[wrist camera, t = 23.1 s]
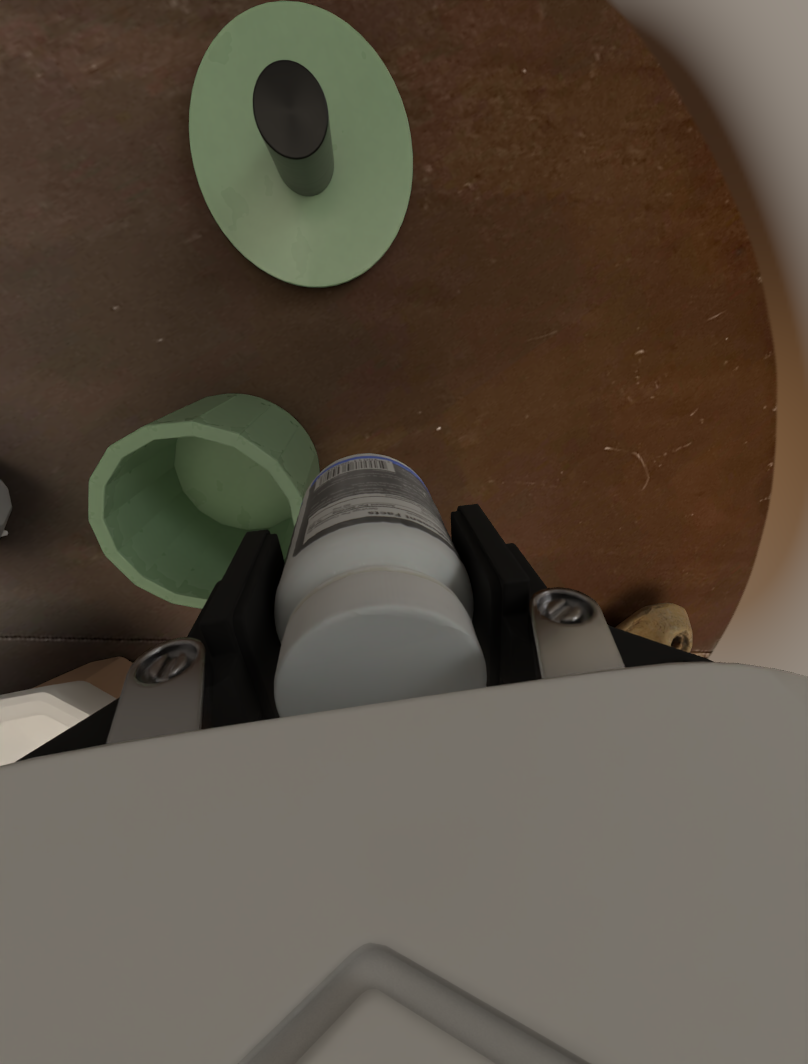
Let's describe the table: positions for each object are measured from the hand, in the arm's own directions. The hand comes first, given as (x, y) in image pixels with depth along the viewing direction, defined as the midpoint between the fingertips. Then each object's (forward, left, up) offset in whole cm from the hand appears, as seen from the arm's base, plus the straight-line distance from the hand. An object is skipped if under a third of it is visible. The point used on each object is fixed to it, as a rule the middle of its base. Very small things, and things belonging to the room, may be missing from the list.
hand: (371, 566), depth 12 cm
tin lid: (-8, +11, -19) cm, 23 cm away
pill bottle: (0, 0, -4) cm, 4 cm away
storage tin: (-6, -6, -19) cm, 21 cm away
